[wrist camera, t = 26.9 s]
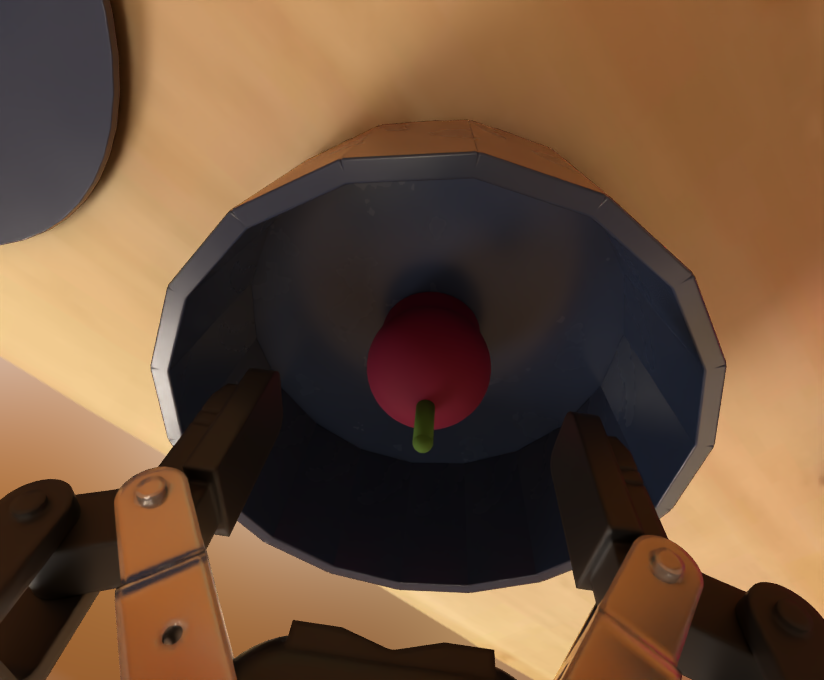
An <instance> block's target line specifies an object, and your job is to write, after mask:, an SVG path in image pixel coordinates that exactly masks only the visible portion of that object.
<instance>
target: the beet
mask: <svg viewBox="0 0 824 680" xmlns="http://www.w3.org/2000/svg"><path fill="white" fill-rule="evenodd" d="M490 376H491V359H490V354H489V350H488V347H487V344H486V342H485V340H484V338H483V336H482V334H481V333H480V327H479V324H478V321H477V319H476V317H475V315H474V313H473V312H472V311H471V309H470V308H469V307H468V306H467V305H465V304H464V303H463V302H462V301H460V300H458V299H457V298H455V297H453V296H450V295H447V294H444V293H439V292H422V293H417V294H414V295H411V296H408V297H406V298H404V299H403V300H401V301H399V302H398V303H397V304H396V305H395V306H394V307H393V308H392V309H391V310H390V311H389V313H388V314H387V316H386V318H385V321H384V324H383V326H382V327H381V329H380V330H379V331H378V333H377V334H376V336H375V338H374V339H373V341H372V344H371V346H370V349H369V353H368V359H367V377H368V382H369V385H370V389H371V392H372V394H373V396H374V398H375V399H376V401H377V402H378V404H379V405H380V407H381V408H382V409H383V410H384V411H385V412H386V413H387V414H388V415H389V416H390V417H392V418H393V419H395V420H396V421H398V422H400V423H402V424H404V425H406V426H409V427H412V428H414V432H413V447H414V449H415V450H416V451H418V452H420V453H426V452H428V451H430V450H431V448H432V446H433V437H434V430H436V429H442V428H446V427H449V426H452V425H454V424H457V423H459V422H460V421H462V420H463V419H465V418H466V417H467V416H469V415H470V414H471V413H472V412H473V411H474V410H475V409H476V408H477V407H478V405H479V404H480V403H481V401H482V399H483V397H484V396H485V394H486V391H487V389H488V386H489V382H490Z"/></svg>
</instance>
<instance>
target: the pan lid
mask: <svg viewBox="0 0 824 680" xmlns="http://www.w3.org/2000/svg"><path fill="white" fill-rule="evenodd" d="M119 98H120V81H119V54H118V47H117V40H116V33H115V27H114V20H113V13H112V8H111V4H110V0H0V245H4V244H8V243H13V242H17V241H22V240H25V239H28V238H30V237H33V236H35V235H38V234H40V233H43V232H45V231H47V230H50V229H52V228H53V227H55V226H56V225H58V224H59V223H61V222H62V221H64V220H65V219H67V218H68V217H70V216H71V215H72V214H73V213H74V212H75V211H76V210H77V209H78V208H79V207H80V206H81V205H82V204H83V203H84V202H85V201H86V199H87V198H88V196H89V195H90V193H91V192H92V190H93V189H94V187H95V186H96V184H97V183H98V181H99V179H100V177H101V175H102V172H103V170H104V168H105V165H106V163H107V161H108V158H109V156H110V152H111V148H112V144H113V140H114V136H115V132H116V128H117V119H118V108H119Z"/></svg>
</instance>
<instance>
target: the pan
mask: <svg viewBox="0 0 824 680" xmlns="http://www.w3.org/2000/svg"><path fill="white" fill-rule="evenodd" d="M422 292H439V293H444V294H447V295H450V296H453V297H455V298H457V299H458V300H460V301H462V302H463V303H464V304H465V305H467V306H468V307H469V308H470V309H471V311H472V312H473V313H474V315H475V317H476V319H477V321H478V324H479V327H480V333H481V334H482V336H483V338H484V340H485V342H486V344H487V347H488V350H489V354H490V359H491V376H490V382H489V386H488V389H487V391H486V394H485V396H484V397H483V399H482V401H481V403H480V404H479V405H478V407H477V408H476V409H475V410H474V411H473V412H472V413H471V414H470V415H469V416H467V417H466V418H465V419H463V420H462V421H460V422H459V423H457V424H454V425H452V426H449V427H446V428H442V429H436V430H434V437H433V446H432V448H431V450H430V451H428V452H426V453H420V452H418V451H416V450H415V449H414V447H413V432H414V428H412V427H409V426H406V425H404V424H402V423H400V422H398V421H396V420H395V419H393V418H392V417H390V416H389V415H388V414H387V413H386V412H385V411H384V410H383V409H382V408H381V407H380V405H379V404H378V402H377V401H376V399H375V398H374V396H373V394H372V392H371V389H370V385H369V382H368V377H367V359H368V353H369V349H370V346H371V344H372V341H373V339H374V338H375V336H376V334H377V333H378V331H379V330H380V329H381V327H382V326H383V324H384V321H385V318H386V316H387V314H388V313H389V311H390V310H391V309H392V308H393V307H394V306H395V305H396V304H397V303H398V302H399V301H401V300H403V299H404V298H406V297H408V296H411V295H414V294H417V293H422ZM250 368H257V369H265V370H272V371H278V372H279V374H280V381H281V393H282V405H283V421H282V426H281V430H280V433H279V435H278V437H277V439H276V441H275V443H274V445H273V447H272V449H271V452H270V454H269V456H268V458H267V460H266V462H265V464H264V466H263V468H262V470H261V472H260V474H259V476H258V478H257V480H256V483H255V485H254V487H253V489H252V491H251V493H250V495H249V497H248V499H247V501H246V503H245V505H244V507H243V509H242V511H241V514H240V516H239V518H238V520H237V521H238V522H239V523H241V524H242V525H243V526H244V527H246V528H247V529H248V530H249V531H251V532H252V533H253V534H254V535H256V536H257V537H258V538H259V539H261V540H262V541H263V542H266V543H267V544H269V545H271V546H273V547H275V548H277V549H280V550H282V551H284V552H286V553H288V554H290V555H292V556H295V557H296V558H299V559H301V560H303V561H305V562H307V563H309V564H311V565H313V566H316V567H318V568H320V569H322V570H324V571H326V572H329V573H331V574H336V575H339V576H343V577H348V578H352V579H356V580H360V581H365V582H368V583H372V584H377V585H381V586H385V587H389V588H393V589H399V590H414V591H436V592H459V593H470V592H471V593H473V592H479V591H486V590H492V589H499V588H505V587H512V586H518V585H525V584H531V583H538V582H542V581H545V580H548V579H550V578H553V577H555V576H558V575H560V574H563V573H566V572H568V571H571V570H572V566H571V561H570V557H569V552H568V548H567V543H566V539H565V534H564V530H563V525H562V521H561V516H560V512H559V507H558V502H557V498H556V493H555V489H554V484H553V480H552V475H551V468H550V462H551V454H552V450H553V447H554V445H555V442H556V439H557V437H558V434H559V431H560V429H561V426H562V424H563V421H564V418H565V416H566V414H567V413H568V412H570V411H571V412H578V413H586V414H593V415H598V416H599V417H600V419H601V422H602V424H603V427H604V429H605V432H606V434H607V436H615V437H617V438H618V439H619V440H620V441H621V442H622V444H623V445H624V446H625V447H626V448H627V449H628V450H629V451H630V453H631V455H632V457H633V459H634V462H635V464H636V466H637V472H639V473H640V476H641V478H642V480H643V482H644V483H643V486H645V487H646V489H647V492H648V494H649V496H650V499H651V501H652V503H653V505H654V508H655V510H656V512H657V515H658V517H659V519H660V518H661V517H663V516H664V515H665V514H667V513H668V512H669V511H670V510H671V509H672V508H673V507H674V505H675V504H676V502H677V501H678V499H679V498H680V497H681V495H682V494H683V492H684V491H685V489H686V488H687V486H688V485H689V483H690V482H691V480H692V479H693V477H694V476H695V474H696V473H697V471H698V470H699V468H700V467H701V465H702V464H703V462H704V461H705V459H706V458H707V456H708V455H709V453H710V452H711V450H712V449H713V447H714V444H715V438H716V431H717V425H718V418H719V412H720V405H721V399H722V392H723V386H724V379H725V373H726V360H725V358H724V355H723V352H722V349H721V347H720V344H719V341H718V338H717V336H716V333H715V330H714V328H713V325H712V322H711V319H710V317H709V314H708V311H707V308H706V306H705V303H704V300H703V298H702V295H701V292H700V289H699V287H698V284H697V281H696V278H695V276H694V275H693V274H692V271H690V270H689V269H688V268H687V267H686V266H685V265H684V264H683V263H682V262H681V261H679V260H678V259H677V258H676V257H675V256H674V255H673V254H672V253H671V252H670V251H669V250H667V249H666V248H665V247H664V246H663V245H662V244H661V243H660V242H659V241H658V240H657V239H655V238H654V237H653V236H652V235H651V234H650V233H649V232H648V231H647V230H646V229H644V228H643V227H642V226H641V225H640V224H639V223H638V222H637V221H636V220H635V219H634V218H632V217H631V216H630V215H629V214H628V213H627V212H626V211H625V210H624V209H623V208H622V207H620V206H619V205H618V204H617V203H616V202H615V201H614V200H613V199H612V198H611V197H610V196H608V195H607V194H606V193H605V192H603V191H602V190H601V189H600V188H599V187H597V186H596V185H595V184H594V183H593V182H591V181H590V180H589V179H588V178H587V177H585V176H584V175H583V174H582V173H581V172H579V171H578V170H577V169H576V168H575V167H573V166H572V165H571V164H570V163H569V162H567V161H566V160H565V159H564V158H562V157H561V156H560V155H559V154H558V153H556V152H555V151H554V150H553V149H551V148H549V147H546V146H544V145H541V144H538V143H535V142H532V141H529V140H527V139H524V138H522V137H519V136H516V135H513V134H511V133H508V132H505V131H503V130H500V129H496V128H492V127H489V126H486V125H483V124H480V123H477V122H474V121H471V120H469V121H468V120H453V121H439V120H433V121H421V122H408V123H400V124H383V125H381V126H377V127H374V128H372V129H370V130H368V131H366V132H364V133H362V134H360V135H358V136H356V137H354V138H351V139H349V140H346V141H344V142H342V143H341V144H339V145H337V146H335V147H333V148H331V149H329V150H327V151H325V152H322V153H320V154H318V155H316V156H314V157H312V158H310V159H308V160H306V161H305V162H303V163H302V164H300V165H299V166H297V167H296V168H294V169H292V170H291V171H289V172H288V173H286V174H285V175H283V176H282V177H280V178H279V179H277V180H276V181H274V182H273V183H271V184H269V185H268V186H266V187H265V188H263V189H262V190H260V191H259V192H257V193H256V194H254V195H253V196H251V197H250V198H248V199H246V200H245V201H243V202H242V203H240V204H239V205H237V206H236V207H234V208H233V209H231V210H230V211H229V212H228V213H227V214H226V215H225V217H224V218H223V219H222V220H221V222H220V223H219V224H218V225H217V226H216V228H215V229H214V230H213V231H212V232H211V234H210V235H209V236H208V237H207V239H206V240H205V241H204V242H203V243H202V245H201V246H200V247H199V248H198V249H197V251H196V252H195V253H194V254H193V255H192V257H191V258H190V259H189V260H188V262H187V263H186V264H185V265H184V266H183V268H182V269H181V270H180V271H179V272H178V274H177V275H176V276H175V277H174V278H173V280H172V281H171V282H170V283H169V285H168V287H167V291H166V296H165V300H164V305H163V310H162V314H161V319H160V324H159V329H158V333H157V338H156V343H155V347H154V352H153V357H152V361H151V372H152V376H153V380H154V384H155V388H156V392H157V396H158V401H159V405H160V409H161V413H162V417H163V421H164V425H165V429H166V433H167V437H168V439H169V441H170V443H171V444H172V446H174V445H175V444H176V442H177V441H178V440H179V438H180V437H181V435H182V434H183V433H184V431H185V430H186V429H187V427H188V426H189V425H190V423H191V422H192V423H193V419H194V418H195V417H196V415H197V414H198V413H199V411H201V410H202V407H203V406H204V404H205V403H206V402H207V400H208V399H209V398H210V396H211V395H212V394H213V393H215V392H216V391H218V390H219V389H221V388H222V387H224V386H225V385H227V384H228V383H230V384H237V385H238V384H239V382H240V381H241V379H242V378H243V376H244V375H245V374H246V372H247V371H248V370H249V369H250Z"/></svg>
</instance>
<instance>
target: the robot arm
mask: <svg viewBox="0 0 824 680" xmlns="http://www.w3.org/2000/svg"><path fill="white" fill-rule="evenodd" d="M282 421H283V405H282V393H281V381H280V374H279V372H278V371H272V370H265V369H257V368H250V369H249V370H248V371H247V372H246V374H245V375H244V376H243V378H242V379H241V381H240V382H239V384H238V385H237V384H230V383H228V384H227V385H225V386H224V387H222V388H221V389H219V390H218V391H216V392H215V393H213V394H212V395H211V396H210V398H209V399H208V400H207V402H206V403H205V404H204V406H203V407H202V410H201V411H199V413H198V414H197V415H196V417H195V418H194V419H193V423H192V422H191V423H190V425H189V426H188V427H187V429H186V430H185V431H184V433H183V434H182V435H181V437H180V438H179V440H178V441H177V442H176V444H175V445H174V446H173V448H172V449H171V450H170V452H169V453H168V454H167V456H166V457H165V458H164V460H163V461H162V463H161V464H160V465H159V466H158V467H156V468H152V469H148V470H145V471H143V472H141V473H139V474H136V475H135V476H133V477H132V478H130V479H129V480H128V481H127V482H125V483H124V484H123V486H122V487H121V488H120V489H116V490H109V491H101V492H94V493H86V494H78V495H75V494H74V492H73V490H72V488H71V486H70V485H69V484H68V483H66V482H64V481H61V480H56V479H47V480H40V481H35V482H32V483H29V484H26V485H24V486H21V487H19V488H18V489H16V490H14V491H12V492H10V493H9V494H7V495H6V496H5V497H4V498H2V499H1V500H0V680H46V678H47V677H48V675H49V673H50V672H51V670H52V668H53V667H54V665H55V664H56V662H57V660H58V659H59V657H60V656H61V654H62V652H63V651H64V649H65V647H66V646H67V644H68V642H69V641H70V639H71V637H72V636H73V634H74V633H75V631H76V629H77V628H78V626H79V625H80V623H81V621H82V620H83V618H84V616H85V615H86V613H87V612H88V610H89V608H90V607H91V605H92V603H93V602H94V600H95V598H96V597H97V595H98V594H99V592H100V591H104V590H109V589H114V588H116V590H115V610H116V623H117V635H118V650H119V664H120V677H121V680H517V679H515V678H514V677H512V676H510V675H509V674H508V673H506V672H505V671H503V670H501V669H499V668H497V667H495V655H494V650H491V649H485V648H478V647H471V646H464V645H458V644H451V643H438V644H432V645H424V646H418V647H411V648H405V649H398V650H391V649H387V648H385V647H383V646H381V645H379V644H376V643H374V642H372V641H370V640H368V639H366V638H364V637H361V636H359V635H357V634H355V633H353V632H351V631H349V630H346V629H344V628H342V627H336V626H330V625H322V624H315V623H309V622H303V621H295V620H293V621H292V625H291V628H290V632H289V635H288V636H283V637H278V638H275V639H271V640H268V641H265V642H263V643H261V644H258V645H256V646H254V647H252V648H250V649H249V650H247V651H245V652H243V653H242V654H240V655H239V656H237V657H236V658H233V653H232V649H231V645H230V641H229V638H228V634H227V630H226V626H225V622H224V619H223V614H222V611H221V607H220V602H219V599H218V594H217V590H216V586H215V582H214V578H213V574H212V571H211V567H210V563H209V559H208V555H207V551H206V549H207V547H208V545H209V543H210V541H211V539H212V537H213V535H214V534H215V535H222V536H228V537H229V536H230V534H231V532H232V530H233V528H234V526H235V524H236V522H237V520H238V518H239V516H240V514H241V511H242V509H243V507H244V505H245V503H246V501H247V499H248V497H249V495H250V493H251V491H252V489H253V487H254V485H255V483H256V480H257V478H258V476H259V474H260V472H261V470H262V468H263V466H264V464H265V462H266V460H267V458H268V456H269V454H270V452H271V449H272V447H273V445H274V443H275V441H276V439H277V437H278V435H279V433H280V430H281V426H282ZM550 468H551V475H552V480H553V484H554V489H555V493H556V498H557V502H558V507H559V512H560V516H561V521H562V525H563V530H564V534H565V539H566V543H567V548H568V552H569V557H570V561H571V566H572V570H573V575H574V580H575V584H576V588H578V589H585V590H592V591H593V593H594V597H595V601H596V604H595V605H594V607H593V608H592V610H591V612H590V614H589V616H588V618H587V619H586V621H585V623H584V625H583V627H582V629H581V630H580V632H579V634H578V636H577V638H576V640H575V641H574V643H573V645H572V647H571V649H570V651H569V652H568V654H567V656H566V658H565V660H564V661H563V663H562V665H561V667H560V669H559V671H558V672H557V674H556V676H555V678H554V679H553V680H681V679H682V675H684V676H686V677H688V678H690V679H692V680H824V619H823V618H822V616H821V615H820V614H819V613H818V612H817V611H816V610H815V609H814V608H813V607H812V606H811V605H810V604H809V603H808V602H807V601H806V600H804V599H803V598H802V597H800V596H799V595H797V594H796V593H794V592H793V591H791V590H789V589H787V588H785V587H783V586H780V585H777V584H774V583H768V582H760V583H757V584H755V585H753V586H752V587H751V588H750V589H749V590H748V591H747V592H745V591H743V590H740V589H738V588H736V587H733V586H731V585H729V584H726V583H724V582H721V581H719V580H717V579H714V578H712V577H710V576H708V575H706V574H704V573H702V572H701V571H700V569H699V567H698V565H697V564H696V562H695V561H694V560H693V558H692V557H691V556H690V555H689V554H688V553H687V552H686V551H685V550H684V549H683V548H681V547H680V546H679V545H677V544H676V543H674V542H672V541H670V540H669V539H668V538H667V535H666V533H665V531H664V528H663V526H662V524H661V522H660V519H659V517H658V515H657V512H656V510H655V508H654V505H653V503H652V501H651V499H650V496H649V494H648V492H647V489H646V487H645V486H643V483H644V482H643V480H642V478H641V476H640V473H639V472H637V466H636V464H635V462H634V459H633V457H632V455H631V453H630V451H629V450H628V449H627V448H626V447H625V446H624V445H623V444H622V442H621V441H620V440H619V439H618V438H617V437H615V436H607V434H606V432H605V429H604V427H603V424H602V422H601V419H600V417H599V416H598V415H593V414H586V413H578V412H571V411H570V412H568V413H567V414H566V416H565V418H564V421H563V424H562V426H561V429H560V431H559V434H558V437H557V439H556V442H555V445H554V447H553V450H552V454H551V462H550Z"/></svg>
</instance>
